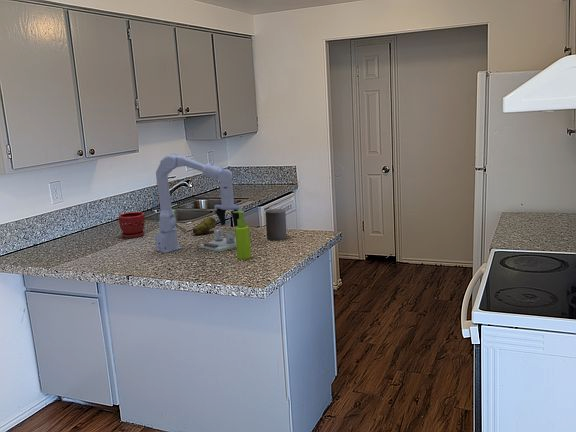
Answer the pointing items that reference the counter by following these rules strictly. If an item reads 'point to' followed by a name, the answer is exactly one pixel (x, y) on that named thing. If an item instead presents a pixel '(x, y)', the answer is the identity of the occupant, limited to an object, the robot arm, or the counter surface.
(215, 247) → the scale
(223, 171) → the robot arm
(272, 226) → the pillar candle
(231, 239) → the cylinder
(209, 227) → the potato
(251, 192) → the counter surface
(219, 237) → the cylinder
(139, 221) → the plant pot
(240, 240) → the soap dispenser
